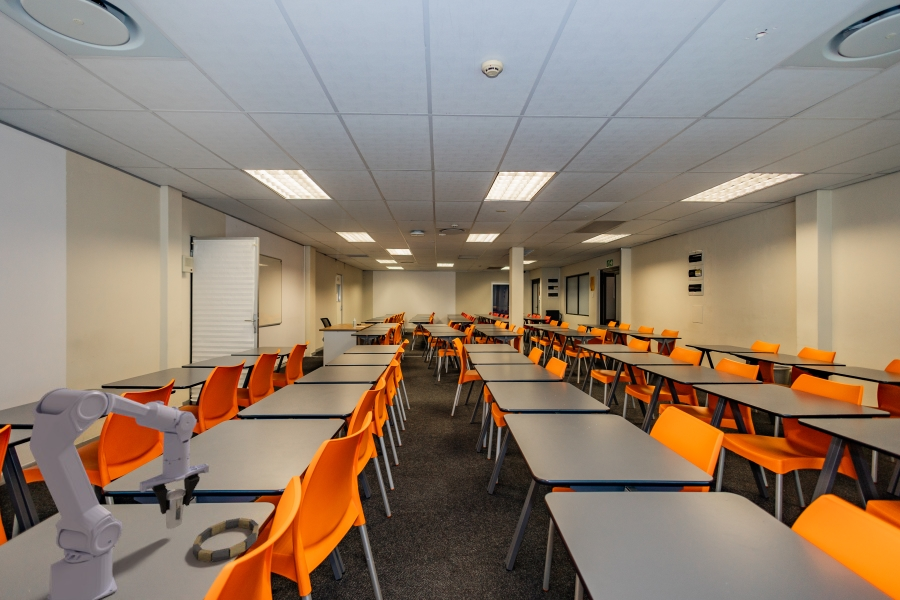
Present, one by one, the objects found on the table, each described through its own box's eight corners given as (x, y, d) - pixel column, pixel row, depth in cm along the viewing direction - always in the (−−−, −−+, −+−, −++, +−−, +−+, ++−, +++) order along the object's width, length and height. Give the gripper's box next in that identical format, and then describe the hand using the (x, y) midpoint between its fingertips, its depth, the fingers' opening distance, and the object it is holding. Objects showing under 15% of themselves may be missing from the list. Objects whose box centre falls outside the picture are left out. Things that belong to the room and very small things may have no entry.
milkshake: (176, 532, 92) (177, 493, 92) (158, 529, 93) (160, 490, 93) (191, 521, 97) (193, 484, 97) (174, 519, 98) (176, 482, 98)
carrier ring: (204, 570, 83) (205, 561, 83) (186, 544, 92) (186, 536, 92) (267, 540, 94) (267, 532, 94) (245, 519, 103) (245, 512, 103)
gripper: (144, 470, 87) (143, 527, 87) (213, 452, 98) (211, 502, 98) (138, 462, 91) (136, 516, 91) (204, 445, 103) (203, 493, 102)
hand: (175, 508), depth 95 cm, fingers closed on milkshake, 4 cm apart
